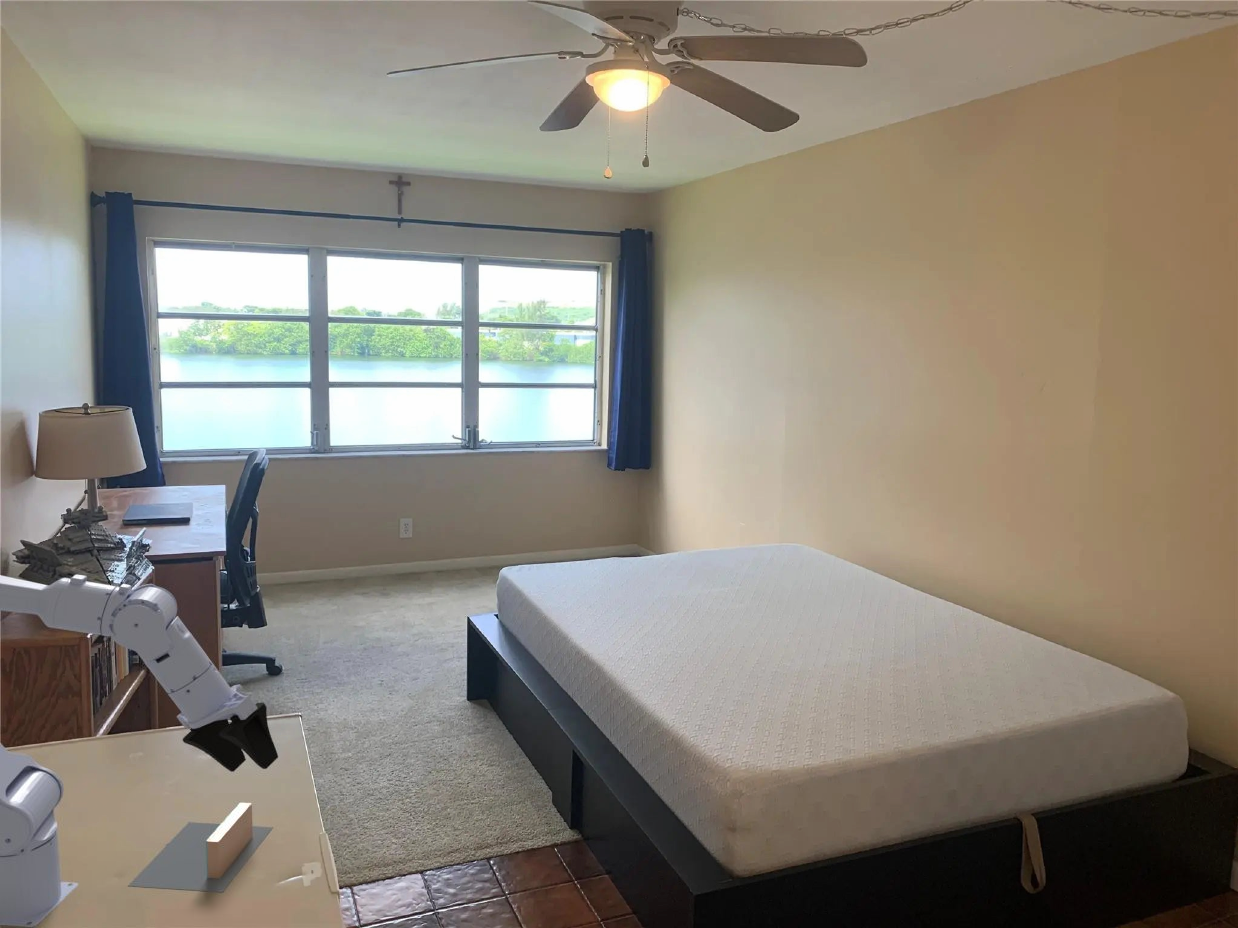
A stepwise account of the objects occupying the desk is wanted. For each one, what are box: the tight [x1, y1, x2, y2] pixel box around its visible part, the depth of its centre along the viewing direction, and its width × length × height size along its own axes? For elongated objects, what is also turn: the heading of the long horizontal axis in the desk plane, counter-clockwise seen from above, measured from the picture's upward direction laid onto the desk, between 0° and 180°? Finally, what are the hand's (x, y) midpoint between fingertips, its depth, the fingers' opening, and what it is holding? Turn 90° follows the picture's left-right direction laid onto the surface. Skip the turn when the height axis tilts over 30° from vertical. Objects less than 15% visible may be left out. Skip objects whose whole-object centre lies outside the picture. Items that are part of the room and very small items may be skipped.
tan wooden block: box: [206, 801, 253, 878], centre depth 113 cm, size 2×9×5 cm, turn 178°
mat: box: [127, 821, 274, 893], centre depth 113 cm, size 12×14×1 cm
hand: (254, 764), depth 106 cm, fingers open, 7 cm apart
